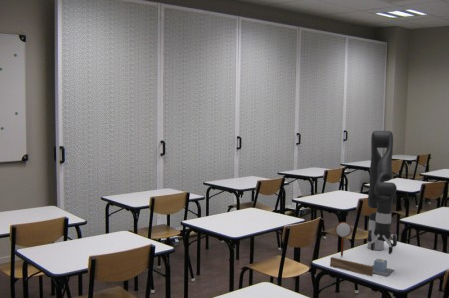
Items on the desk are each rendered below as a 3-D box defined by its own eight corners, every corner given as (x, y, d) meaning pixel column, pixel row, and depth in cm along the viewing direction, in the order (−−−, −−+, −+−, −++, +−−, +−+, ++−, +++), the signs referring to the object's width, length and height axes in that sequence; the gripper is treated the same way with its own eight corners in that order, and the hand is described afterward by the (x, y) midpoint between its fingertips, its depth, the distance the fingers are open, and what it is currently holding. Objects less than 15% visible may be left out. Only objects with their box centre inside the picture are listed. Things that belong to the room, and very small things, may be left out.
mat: (373, 265, 259) (373, 264, 259) (394, 270, 253) (394, 269, 253) (365, 271, 250) (365, 270, 250) (387, 276, 244) (387, 275, 244)
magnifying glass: (334, 257, 271) (336, 222, 269) (333, 256, 273) (335, 221, 270) (349, 257, 271) (351, 222, 269) (349, 256, 273) (351, 221, 271)
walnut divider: (331, 265, 258) (331, 257, 258) (372, 275, 245) (373, 266, 245) (330, 266, 257) (330, 257, 256) (371, 276, 244) (371, 267, 244)
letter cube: (376, 267, 255) (377, 257, 254) (386, 269, 252) (387, 259, 251) (373, 270, 251) (374, 260, 250) (383, 272, 248) (384, 262, 247)
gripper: (399, 222, 247) (397, 253, 249) (372, 217, 256) (370, 247, 258) (395, 225, 241) (393, 257, 243) (366, 220, 250) (365, 250, 252)
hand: (381, 251), depth 251 cm, fingers open, 8 cm apart
